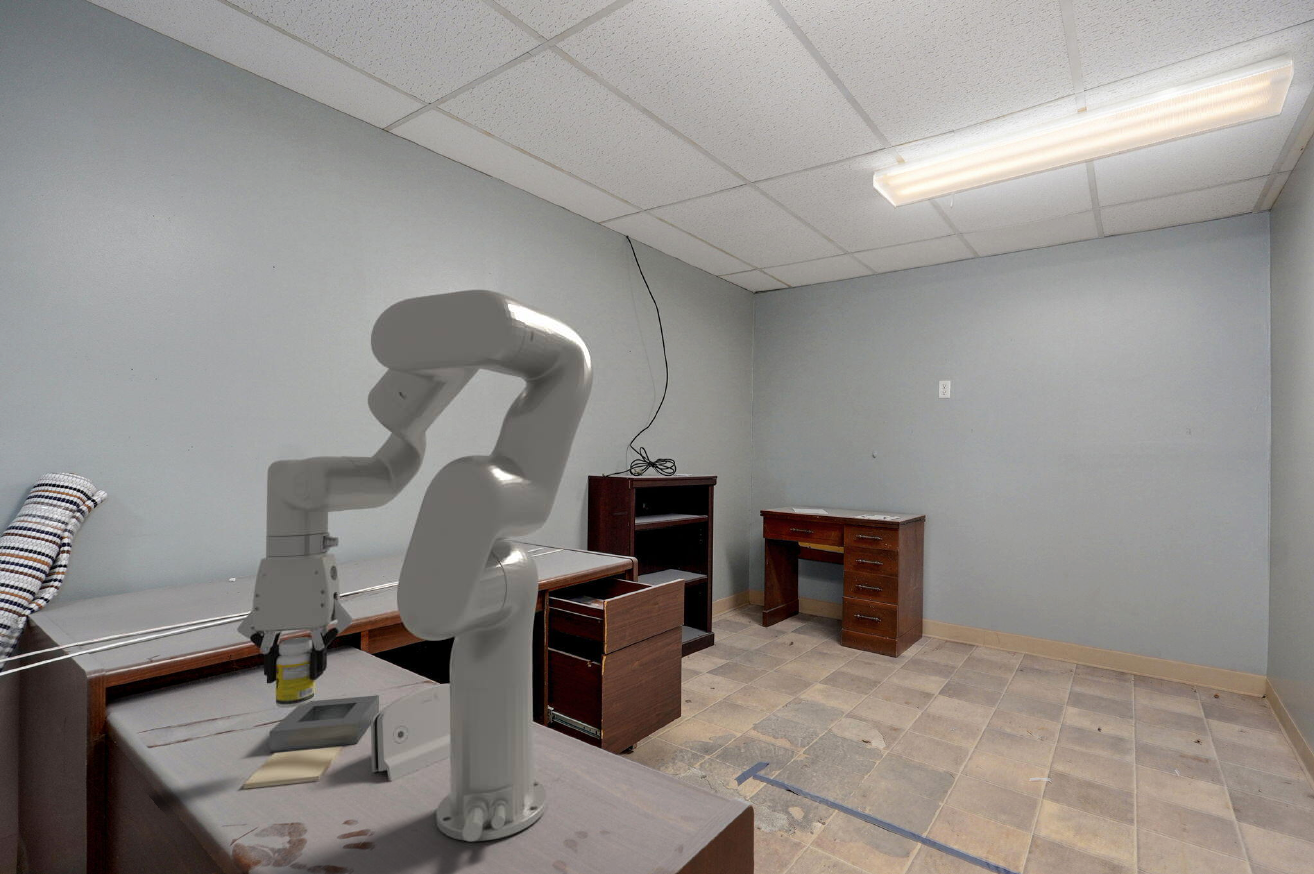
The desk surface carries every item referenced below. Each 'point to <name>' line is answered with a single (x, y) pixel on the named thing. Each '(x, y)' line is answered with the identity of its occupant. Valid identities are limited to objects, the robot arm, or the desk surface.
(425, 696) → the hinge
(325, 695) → the desk surface
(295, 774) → the pad
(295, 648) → the supplement bottle
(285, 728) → the socket block
